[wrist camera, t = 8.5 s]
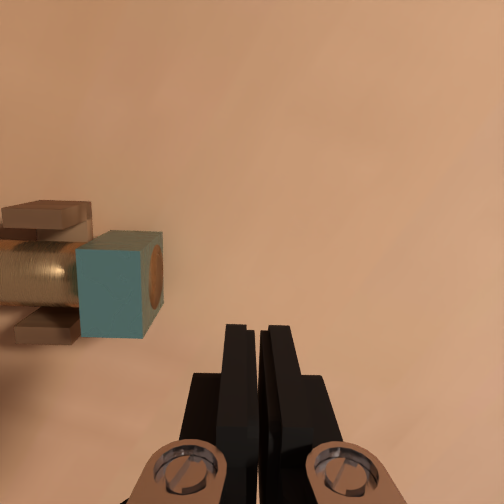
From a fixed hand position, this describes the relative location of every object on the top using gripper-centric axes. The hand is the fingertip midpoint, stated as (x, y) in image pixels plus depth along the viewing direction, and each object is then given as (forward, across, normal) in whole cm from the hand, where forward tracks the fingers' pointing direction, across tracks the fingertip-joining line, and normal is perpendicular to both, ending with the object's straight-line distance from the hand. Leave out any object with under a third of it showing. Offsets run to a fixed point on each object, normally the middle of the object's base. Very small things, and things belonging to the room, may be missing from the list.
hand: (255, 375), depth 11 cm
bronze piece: (+14, +14, +2) cm, 20 cm away
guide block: (+15, +11, +2) cm, 19 cm away
